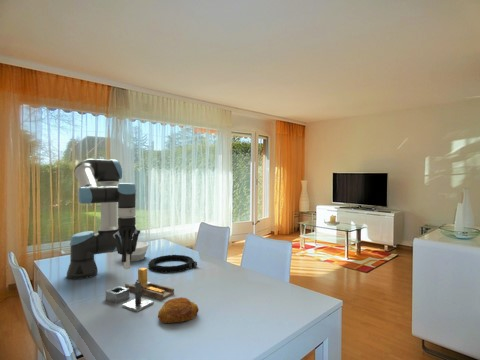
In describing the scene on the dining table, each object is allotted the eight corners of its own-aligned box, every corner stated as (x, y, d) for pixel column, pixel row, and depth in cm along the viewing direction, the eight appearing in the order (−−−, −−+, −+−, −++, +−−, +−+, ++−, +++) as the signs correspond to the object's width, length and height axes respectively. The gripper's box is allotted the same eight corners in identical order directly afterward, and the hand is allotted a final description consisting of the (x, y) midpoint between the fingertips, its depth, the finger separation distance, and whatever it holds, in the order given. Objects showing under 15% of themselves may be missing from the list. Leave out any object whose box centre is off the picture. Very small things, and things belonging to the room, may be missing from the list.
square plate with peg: (122, 306, 124) (122, 283, 124) (138, 299, 132) (139, 277, 132) (137, 312, 120) (137, 287, 120) (153, 303, 128) (153, 280, 127)
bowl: (143, 263, 185) (143, 248, 185) (115, 262, 185) (115, 247, 185) (151, 255, 203) (151, 241, 203) (126, 254, 203) (126, 241, 203)
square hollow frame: (105, 299, 131) (105, 291, 131) (119, 294, 137) (119, 285, 137) (116, 303, 127) (116, 294, 127) (129, 297, 134) (129, 288, 133)
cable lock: (161, 252, 197) (203, 255, 191) (161, 258, 197) (203, 261, 191) (139, 265, 170) (187, 269, 164) (139, 271, 170) (187, 275, 164)
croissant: (198, 327, 112) (201, 307, 112) (157, 327, 108) (160, 306, 108) (194, 310, 126) (197, 291, 126) (157, 309, 122) (159, 290, 122)
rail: (125, 289, 143) (125, 284, 143) (138, 284, 150) (138, 279, 150) (161, 300, 131) (161, 294, 131) (173, 293, 138) (174, 288, 138)
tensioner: (134, 287, 142) (134, 269, 142) (142, 284, 146) (142, 266, 146) (158, 294, 134) (158, 275, 134) (166, 290, 139) (166, 271, 138)
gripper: (118, 219, 126) (117, 273, 126) (144, 216, 136) (143, 266, 137) (108, 217, 130) (108, 270, 131) (134, 214, 141) (134, 263, 141)
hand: (126, 268), depth 134 cm, fingers closed
